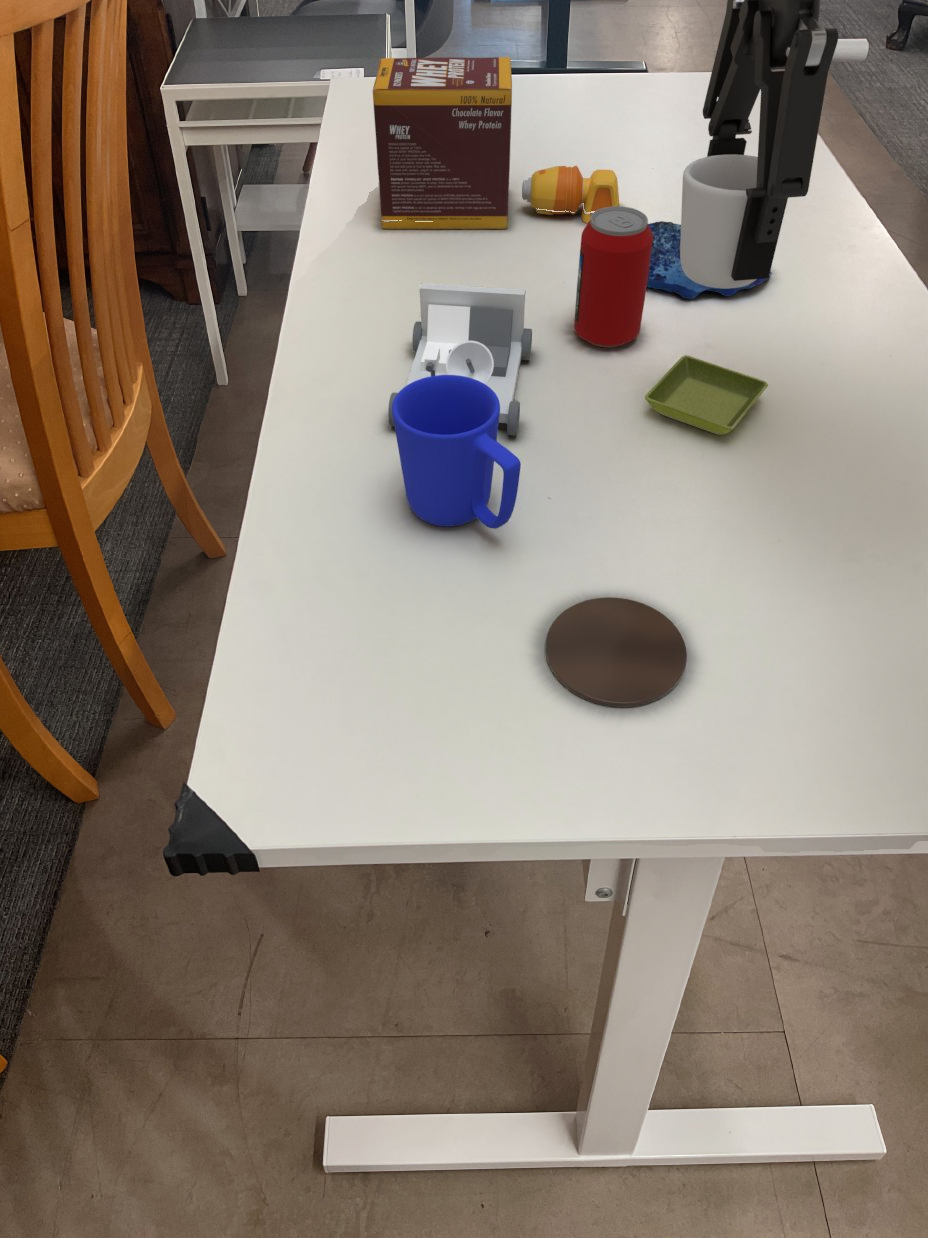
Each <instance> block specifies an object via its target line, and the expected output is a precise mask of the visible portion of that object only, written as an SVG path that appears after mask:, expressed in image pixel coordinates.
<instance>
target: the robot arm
mask: <svg viewBox="0 0 928 1238" xmlns="http://www.w3.org/2000/svg"><path fill="white" fill-rule="evenodd" d="M820 11H821V0H726V8H725V15H724V20H723V23H722V28H721V31H720V35H719V40H718V44H717V49H716V53H715V57H714V61H713V66H712V68H711V69H712V70H711V74H710V77H709V81H708V86H707V91H706V94H705V99H704V103H703V107H702V116H703V119H704V120H709V119H710V120H709V122H708V127H707V128H708V135H709V137H712V139H709V142H708V143H709V144H708V149H707V155H706V157H709V156H715V155H731V154H736V155H745V153H746V152H745V151H746V147H747V143H748V141H747V140H746V139H745V137H737V136H741V135H751V134H752V133H753V130H752V125H751V123H750V119H749V118H750V116H751V113H752V111H753V108H754V105H755V103H756V101H757V98H758V96H759V93H760V103H759V123H758V124H759V125H758V126H759V127H758V141H757V143H758V144H757V157H758V162H757V182H756V188H749V189H746V195H747V197H748V198H747V203H746V207H745V212H744V217H743V222H742V226H741V231H740V236H739V240H738V245H737V250H736V255H735V259H734V264H733V269H732V274H731V277H732V278H733V280H734V281H740V280H753V279H767V278H769V279H770V277H769V274H770V272H771V269H772V266H773V261H774V258H775V253H776V249H777V245H778V241H779V237H780V232H781V229H782V224H783V221H784V216H785V211H786V208H787V205H788V200H789V198H800V197H801V198H802V197H806V196H807V194H808V192H809V188H810V182H811V176H812V171H813V165H814V159H815V151H816V148H817V147H816V146H817V142H818V134H819V129H820V122H821V117H822V110H823V106H824V105H823V104H824V98H825V93H826V88H827V82H828V81H827V80H828V75H829V72H830V67H831V64H832V61H833V58H834V55H835V52H836V49H837V45H838V41H839V31H838V28H836V27H832V28H831V27H830V28H822V27H821V26H820V25H821V24H819V20H820V13H821V12H820ZM767 280H768V279H767Z"/></svg>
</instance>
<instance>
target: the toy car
mask: <svg viewBox="0 0 928 1238" xmlns="http://www.w3.org/2000/svg"><path fill="white" fill-rule="evenodd" d="M419 304H420V321H419V320H418V321H417V320H416V321H415V322H414V325H413V328H412V350H413V353H415V356H414V360H413V362H412V366H411V369H410V371H409V375H408V378H407V382H406V384H405V386H407V385H408V384H410V383H412V382H414V381H417V380H419V379H422V378H426V377H430V376H437V375H458V376H465V377H469V378H472V379H475V380H478V381H480V382H482V383H484V384H485V385H487V386H488V387H490V388H491V389H492V390H493V391H494V392H495V394H496V395H497V397H498V399H499V402H500V414H499V423H498V424H500V423H501V424H506V426H507V427H506V433H507V435H508V436H517V435H518V432H519V427H520V426H519V425H520V417H521V416H520V413H521V403H520V401H518V400H517V401H516V400H514V399H515V394H516V388H517V382H518V376H519V370H520V365H521V361H530V360H531V353H532V344H533V329H532V328H526V327H525V308H526V289H522V288H505V287H491V286H490V287H489V286H471V285H457V284H456V285H455V284H441V283H440V284H438V283H421V284H420V286H419ZM398 393H399V392H392V393H391V394H390V397H389V402H388V411H387V412H388V413H387V415H388V424H389V426H390V427H395V426H394V420H393V414H392V404H393V401H394V398H395V397H396V395H397V394H398Z"/></svg>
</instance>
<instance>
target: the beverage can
mask: <svg viewBox="0 0 928 1238" xmlns="http://www.w3.org/2000/svg"><path fill="white" fill-rule="evenodd" d="M648 224H649V219H648V216H647V215H646V214H645V213H644V212H642V211H640V210H639V209H636V208H633V207H629V206H621V205H620V206H613V207H605V208H601V209H599V210H597V211H595V212H594V213H593V214H592V215H591V218H590V221H589V222H588V223H586V225H585V227H584V228H583V230H582V232H581V236H580V246H579V247H580V248H579V257H578V259H579V260H578V270H577V280H576V281H577V283H576V295H575V306H574V320H573V321H574V323H573V328H574V332H575V333H576V335H578V336H579V337H580V338H581V339H582V340H584V341H586V342H587V343H589V344H591V345H594V346H596V347H602V348H614V347H620V346H622V345H624V344H627V343H630V342H631V341H633V340H635V339H636V338H637V337H638V336H639V334H640V332H641V324H642V320H643V319H642V318H643V313H644V306H645V300H646V292H647V287H646V286H647V279H648V272H649V265H650V258H651V250H652V242H653V236H652V233H651V230H650V228H649V225H648Z"/></svg>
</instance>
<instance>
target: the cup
mask: <svg viewBox="0 0 928 1238" xmlns="http://www.w3.org/2000/svg"><path fill="white" fill-rule="evenodd" d="M757 162H758V156H755V155H747V154H744V155H736V154H731V155H715V156H709V157H707V156H705V157H701V158H698V159H696V160H693V161H691V162H690V163H689V164H688V165H687V166H686V167H685V169H684V171H683V172H682V173H683V174H682V184H681V185H682V188H681V189H682V190H681V213H680V215H681V217H680V225H681V241H680V260H681V266H682V269H683V271H684V273H685V275H686V276H687V277H688V278H690V279H691V280H692V281H694V282H696V283H698V284H701V285H704V286H707V287H712V288H721V289H729V288H738V287H743V286H746V285H748V284H750V283H752V282H754V281H755V280H756V279H753V280H740V281H734V280H733V278H732V277H731V274H732V269H733V264H734V259H735V255H736V250H737V245H738V240H739V236H740V231H741V226H742V222H743V217H744V212H745V207H746V203H747V198H748V197H747V195H746V189H749V188H756V182H757Z"/></svg>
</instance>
